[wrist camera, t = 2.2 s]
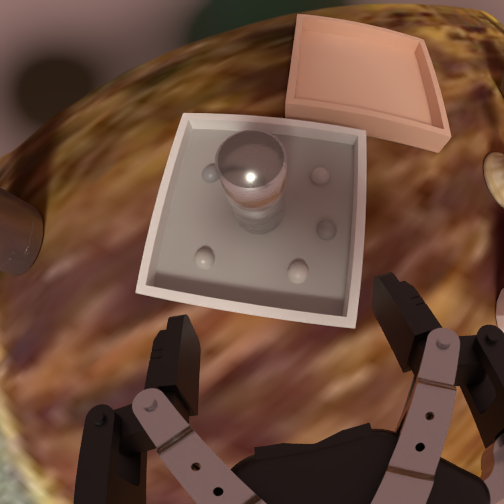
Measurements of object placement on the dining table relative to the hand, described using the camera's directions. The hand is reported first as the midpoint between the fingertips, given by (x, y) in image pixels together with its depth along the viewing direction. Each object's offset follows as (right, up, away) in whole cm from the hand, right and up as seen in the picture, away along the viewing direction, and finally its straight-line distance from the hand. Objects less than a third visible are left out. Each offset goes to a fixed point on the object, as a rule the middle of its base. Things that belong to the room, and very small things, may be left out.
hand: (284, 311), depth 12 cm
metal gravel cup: (-1, +6, +14) cm, 15 cm away
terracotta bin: (+13, +24, +19) cm, 33 cm away
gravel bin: (-1, +6, +16) cm, 17 cm away
